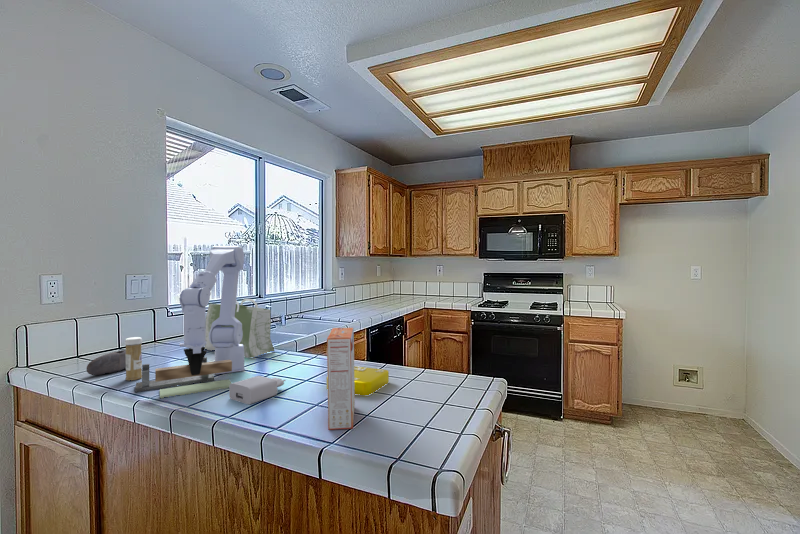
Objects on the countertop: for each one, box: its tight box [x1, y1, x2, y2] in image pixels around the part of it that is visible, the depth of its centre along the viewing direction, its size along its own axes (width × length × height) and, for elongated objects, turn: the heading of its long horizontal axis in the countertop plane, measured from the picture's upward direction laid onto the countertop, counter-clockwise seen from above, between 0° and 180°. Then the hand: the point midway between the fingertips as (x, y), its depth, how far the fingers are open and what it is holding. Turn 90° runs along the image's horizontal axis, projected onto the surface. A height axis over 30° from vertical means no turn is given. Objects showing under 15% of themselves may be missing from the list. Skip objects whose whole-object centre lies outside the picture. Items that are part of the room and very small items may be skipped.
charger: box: [228, 375, 286, 405], centre depth 110 cm, size 5×9×15 cm
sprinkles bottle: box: [124, 336, 143, 382], centre depth 126 cm, size 5×5×14 cm
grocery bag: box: [204, 298, 275, 358], centre depth 168 cm, size 32×14×23 cm, turn 59°
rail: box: [154, 360, 232, 382], centre depth 115 cm, size 20×3×3 cm, turn 123°
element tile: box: [326, 365, 390, 395], centre depth 117 cm, size 15×15×5 cm
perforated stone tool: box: [86, 349, 126, 376], centre depth 134 cm, size 15×5×7 cm, turn 155°
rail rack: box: [134, 356, 215, 393], centre depth 121 cm, size 21×7×6 cm, turn 123°
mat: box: [159, 379, 232, 399], centre depth 115 cm, size 19×8×1 cm, turn 123°
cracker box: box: [326, 327, 356, 431], centre depth 93 cm, size 14×6×21 cm, turn 5°
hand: (195, 373), depth 115 cm, fingers closed on rail, 3 cm apart
